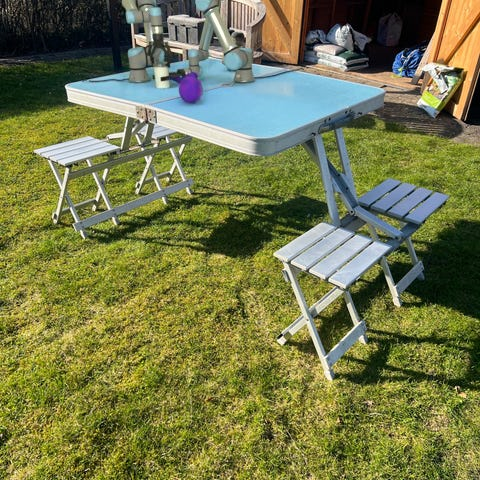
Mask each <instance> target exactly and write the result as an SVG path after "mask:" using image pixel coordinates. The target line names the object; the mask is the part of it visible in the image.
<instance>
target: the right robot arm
mask: <svg viewBox="0 0 480 480" xmlns="http://www.w3.org/2000/svg"><path fill="white" fill-rule="evenodd" d="M194 2H195V3H194V4H195V7H196V8H197V9H198V11H200V12H202V15H203V17H204V23H203V28H202V32H201V36H200V40H199V45H198V49H197V48H191V49H190V48H189V49H188V50H187V58H188V59H187V60H188V67H183V68H178V69H177V70H176V71H171V72H170V71H169V76H165V77H160V78H161V81H167V80H169V78H168V77H183V78H184V77H186V74H188V73H191V72H195V73H196V74H197V76H198V78H199V77H200V78H201V77H203V74H204V70H203V67H202V66H201V65H200V62H203V61H206V60H208V59H209V58H210V52H209V49H210V46H211V41H212V38H213V35H214V33H215V35H216V38H217V40H218V42H219V44H220V46H221V48H222V50H223V53H222V55H223V58H224V63H225V65H224V66H225V67H226V69H227V68H228V69H230V70H232V71H235V73H234V76H233V82H234V83H239V84H248V83H254V82H255V79H267V78H272V77H276V76H279V75H283V74H285V73H286V74H287V73H290V72H297V71H300V70H302V71H305V69H304V68H303V67H300V68H296V69H290V70H285V71H282V72H278V73H275V74H272V75H266V76H265V75H264V76H254V72H253V50H252V48H251V47H240V46H238V45H237V44H235V42H234V40H233V37H232V36H231V34H230V32H229V30H228V28H227V25H226V23H225V22H224V20H223V18H222V15H221V13H220V11H221V7H222V0H194ZM228 69H227V70H228ZM230 70H229V71H230ZM152 80H155V74H152ZM170 81H172V80H171V79H170Z"/></svg>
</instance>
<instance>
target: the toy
mask: <svg viewBox="0 0 480 480" xmlns="http://www.w3.org/2000/svg"><path fill="white" fill-rule="evenodd" d="M168 78H169V79H171V80H170V81H173V82H174V83H177V84H178V93H179V96H180V98H181V100H182V101H184V102H185V103H189V104H195V103H197V102H198V101H199V100H200V99H201V98H202V96H203V94H204V88H203V84H202V81H201V80H200V79H199V77H198V76H197V74H196V73H195V72H191V73H188V74H186V77H184V78H183V77H168Z"/></svg>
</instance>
